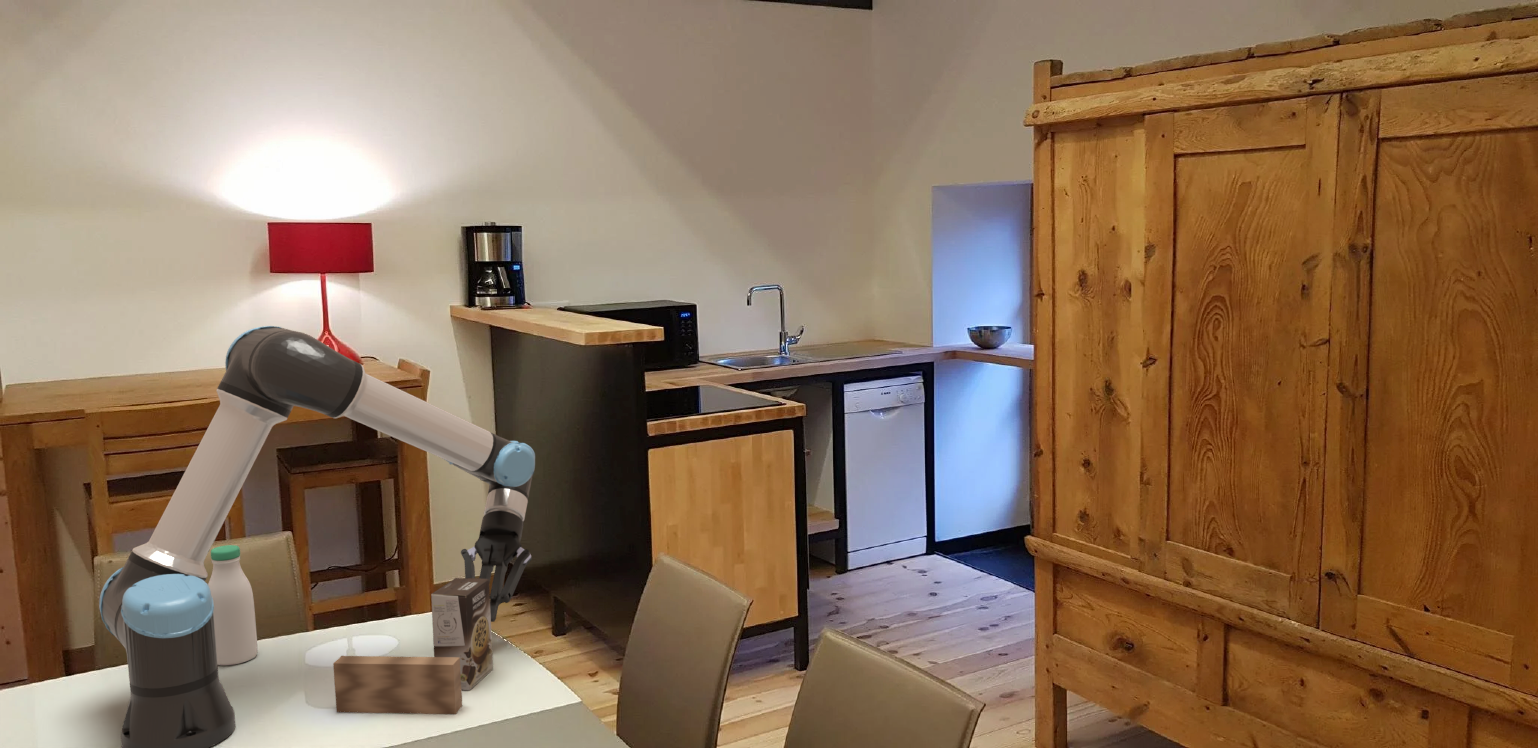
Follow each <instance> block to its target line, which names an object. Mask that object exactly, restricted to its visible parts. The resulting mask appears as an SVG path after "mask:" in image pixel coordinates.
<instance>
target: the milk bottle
mask: <svg viewBox="0 0 1538 748" xmlns="http://www.w3.org/2000/svg"><path fill="white" fill-rule="evenodd" d="M210 558H211V560H210V561H211V563H212V565H213V567H212V572H211V576H210V578H209V581H208V583H207V584H208V586H209V588H210V591H211V596H212V598H213V602H214V610H213V615H214V628H215V640H216V652H217V665H218V666H232V665H238V664H239V665H240V664H243V663H245V662H248V661H250V660H253V659H254V658H255V657H256V656H257V655H258V651H259V650H258V637H257V625H256V624H257V623H256V613H255V611H256V610H255V601H254V594H253V589H252V585H251V582H250V581H249V579H248V578H247V576H246V575H245V573H244V571H243V569H242V567H241V564H240V561H241V549H240V546H238V545H234V544H228V545H220V546H217V547H213V548H212V549H210Z"/></svg>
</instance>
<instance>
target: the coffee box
mask: <svg viewBox="0 0 1538 748" xmlns="http://www.w3.org/2000/svg"><path fill="white" fill-rule="evenodd" d="M490 593H491V591H490V583H489V579H479V578H477V577H475V578H466V579H465V577H464V578H463V577H461V578H460V577H454V579H452V580H450V581H449V582H447V583H446V584H445V585H443V586H442V587H440V588H438V589H437V590H436V591H434V592H432V593H431V594H430V595H431V616H432V617H431V618H432V619H431V620H432V637H433V638H432V639H433V640H432V641H433V657H460V673H461V691H471V689H473V688H474V687H475V686H476V685H477V684H478V683H479V682H480V681H482V680H483V679H484V678H485V677H486V676H487V675H488V674H490V673H491V672H492V671H493V670H494V662H493V661H494V659H493V657H494V656H493V655H494V654H493V638H492V622H491V613H490Z"/></svg>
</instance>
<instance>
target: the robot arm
mask: <svg viewBox="0 0 1538 748" xmlns="http://www.w3.org/2000/svg"><path fill="white" fill-rule="evenodd" d="M224 363H225V373H224V374H223V377H222V378H221V380H220V382H219V384H218V386H217V388H216V390H215V391H216V393H217V397H218V399H219V403H220V404H219V406H218V408H217V409H216V411H215V414H214V416H213V417H212V419H211V421H210V423H209V426H208V427H207V429H206V431H205V433H204V435H203V437H202V438H201V440H200V443H199V444H198V446H197V448H196V450H195V452H194V454H193V456H192V457H191V460H190V461H189V464H188V466H187V467H186V469H185V471H184V472H183V475H182V477H181V479H180V480H179V483H178V485H177V486H176V489H175V490H174V492H173V494H172V496H171V498H170V500H169V502H168V504H167V506H166V508H165V509H164V511H163V513H162V515H161V517H160V519H159V521H158V523H157V525H156V527H155V528H154V530H153V532H152V534H151V537H150V538H149V540H148V541H147V542H145V543H144V544H143V543H142V544H141V545H138V546H136V547H133V548H132V550H131V551H130V554H129V555H128V558H127V560H126V561H125V563H124V565H123V566H122V567H121V568H120V567H119V568H118V569H117V570H116V571H114V573H112V574H111V575H110V577H109V578H108V579H107V580H106V581H105V583H104V585H103V587H102V589H101V592H100V594H99V603H98V604H99V612H100V616H101V620H102V622H103V624H104V625H105V628H106V630H108V632H109V633H110V634H111V635H112V636H114V637H115V638H116V640H118V642H119V643H120V644H121V646H123V647H124V649H125V653H126V659H127V668H128V669H127V670H128V679H129V681H128V682H129V687H130V697H129V701H128V705H127V709H126V712H125V716H124V720H123V723H122V727H121V731H120V743H121V748H211V747H213V746H215V745H217V744H219V743H221V742H222V741H224V740H226V739H227V738H228V737H229V736H230V735H231V734H232V733H234V730H235V728H236V717H235V715H236V714H235V709H234V707H233V705H232V704H231V702H230V699H229V698H228V695H227V693H226V691H225V689H224V686H223V685H222V683H221V680H220V677H219V667H218V666H219V665H217V652H216V640H215V628H214V615H213V610H214V602H213V598H212V596H211V591H210V588H209V586H208V583H207V582H206V580H207V578H208V575H209V574H208V571H207V569H206V566H205V559H206V557H207V556H208V554H209V552H210V551H211V548H212V546H213V544H214V543H215V541H216V538H217V536H218V534H219V532H220V530H221V529H222V526H223V524H224V523H225V520H226V519H227V516H228V514H229V512H230V510H231V509H232V506H233V504H234V503H235V501H236V498H237V497H238V495H239V493H240V490H241V489H242V487H243V485H244V484H245V481H246V479H247V478H248V475H249V473H250V471H251V469H252V467H253V466H254V463H255V462H256V460H257V458H258V455H259V454H260V452H261V450H262V447H263V446H264V444H265V442H266V441H267V438H268V435H269V434H270V432H271V430H272V428H273V427H274V426H275V425H276V424H280V423H282V422H284V421H287V420H288V418H289V416H290V414H291V412H292V410H293V409H294V407H297V408H298V407H299V408H303V409H307V410H311V411H314V412H317V413H320V414H323V415H325V416H328V417H329V418H333V419H338V418H342V417H346V418H348V419H350V420H353V421H355V422H357V423H360V424H362V425H365V426H366V427H369V428H371V429H373V430H375V431H378V432H380V433H383V434H385V435H387V436H389V437H392V438H394V439H397V440H399V441H401V442H404V443H406V444H408V445H410V446H413V447H415V448H418V449H419V450H422V451H425V452H427V453H429V454H431V455H434V456H436V457H438V458H440V459H442V460H444V461H445V462H447V463H448V464H449V465H453V466H454V467H456V468H458V469H460V470H462V471H464V472H465V473H468V474H469V475H472V476H473V477H475V478H477V479H479V480H480V481H483V482H484V483H486V484H488V490H487V491H488V492H487V497H486V501H485V505H484V506H485V507H484V512H483V516H482V521H481V524H480V530H479V534H478V538H477V540H476V541H475V543H474V546H472V547H471V548H469V549H466V548H462V549H461V550H460V554H461V557H462V559H463V561H464V578H465V579H466V578H476V570H475V569H476V567H475V561H476V555H477V554H478V556H479V558H480V560H481V568H480V573H479V578H478V579H489V584H490V583H491V577H492V572H493V571H494V574H493V579H492V584H491V588H490V589H491V590H490V613H491V623H495V621H496V619H497V613H498V610H499V606H500V605H501V604H503V603H505V604H508V603H509V602H510V601H511V599H512V598H513V595H514V593H515V590H516V589H517V586H518V584H519V582H520V579H521V577H522V575H523V573H524V570H525V568H526V567H527V565H529V563H530V562H531V561H532V560H533V557H532V555H531V552H530V550H529V549H527V548H526V549H524V547H523V546H522V544H521V539H522V534H523V528H524V521H525V518H526V512H527V507H528V503H529V497H530V491H531V487H532V481H533V478H534V477H533V476H534V474H535V470H536V469H535V468H536V453H535V451H534V449H533V448H532V446H530V445H528V444H527V443H525V442H519V441H518V440H509V439H506V438H504V437H502V436H499V435H497V434H496V433H493V432H491V431H489V430H487V429H485V428H483V427H481V426H478V425H477V424H474V423H472V422H470V421H468V420H466V419H465V418H461V417H459V416H458V415H455V414H453V413H451V412H449V411H446V410H445V409H442V408H440V407H438V406H436V405H434V404H432V403H430V402H427V401H426V400H423V399H421V398H419V397H417V396H414V395H412V394H410V393H408V392H407V391H404V390H402V389H399V388H397V387H395V386H393V385H391V384H390V383H387V382H385V381H382V380H381V379H378V378H376V377H375V376H372V375H370V374H368V373H367V372H366V371H365V367H364V364H363V365H362V364H361V363H360V362H357V361H355V360H353V359H351V358H349V357H347V356H345V355H344V354H341V353H340V352H339V351H337V350H335V349H333V348H332V347H330V346H328V345H326V344H325V343H324V342H322V341H320V340H319V339H317V338H315V337H313V336H312V335H309V334H307V333H305V332H301V331H297V330H293V329H292V330H291V329H288V328H284V327H282V326H275V325H265V326H263V325H262V326H258V327H253V328H251V329H248V330H246V331H244V332H242V333H241V334H239V335H238V336H237V337H236V338H235V339H234V340H233V341H232V343H230V345H229V346H228V349H227V352H226V355H225V362H224ZM515 557H516V558H515ZM514 558H515V561H514V562H513V564H512V567H511V569H510V572H509V574H508V576H507V578H506V581H505V577H506V573H507V571H508V565H509V563H511V561H512V560H513V559H514ZM494 567H495V569H494Z"/></svg>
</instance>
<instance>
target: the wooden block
mask: <svg viewBox="0 0 1538 748" xmlns="http://www.w3.org/2000/svg"><path fill="white" fill-rule="evenodd" d="M332 666H333V679H334V681H333V682H334V693H335V695H334V696H335V706H336V707H335V708H336V709H335V710H336V713H352V714H353V713H355V714H356V713H358V714H361V713H362V714H363V713H365V714H367V713H368V714H415V715H416V714H426V715H427V714H429V715H430V714H433V715H457V713H458V712H459V711H460V709H461V708H462V707H463V696H462V693H463V692H462V690H461V673H460V657H434V656H387V655H385V656H382V655H381V656H380V655H379V656H377V655H376V656H374V655H371V656H369V655H341V656H340V657H338V659H336V660H335V661H334V662H333V665H332Z"/></svg>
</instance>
